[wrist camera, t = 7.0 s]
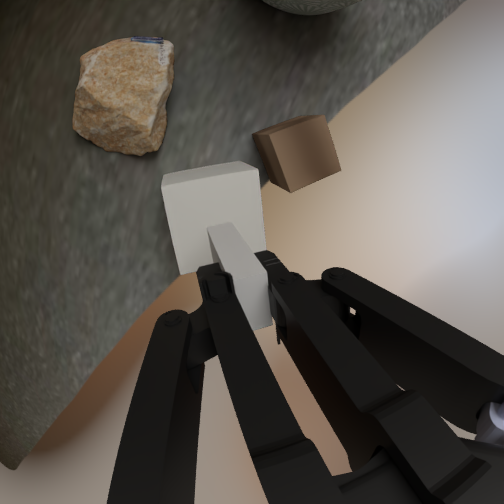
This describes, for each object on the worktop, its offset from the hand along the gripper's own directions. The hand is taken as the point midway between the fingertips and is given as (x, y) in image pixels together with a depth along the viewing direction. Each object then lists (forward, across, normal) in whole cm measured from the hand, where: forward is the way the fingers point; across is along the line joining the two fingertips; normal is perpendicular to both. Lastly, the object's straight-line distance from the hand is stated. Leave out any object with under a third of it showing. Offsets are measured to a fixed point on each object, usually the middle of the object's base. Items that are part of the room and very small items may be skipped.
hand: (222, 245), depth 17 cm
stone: (+11, -5, +11) cm, 16 cm away
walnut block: (+10, +8, +4) cm, 14 cm away
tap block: (+10, 0, 0) cm, 10 cm away
